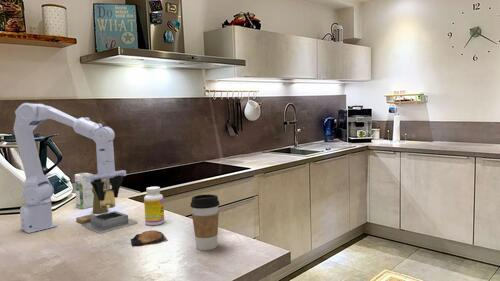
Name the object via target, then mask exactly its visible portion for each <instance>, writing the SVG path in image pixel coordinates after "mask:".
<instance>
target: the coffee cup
mask: <svg viewBox="0 0 500 281" xmlns="http://www.w3.org/2000/svg"><path fill="white" fill-rule="evenodd" d="M219 206H220V201H219V197H218V195H216V194H210V193H209V194H196V195H194V196H192V197H191V201H190V206H189V207H191V212H192V213H191V215H192V224H193V231H194V237H195V245H196V249H198V250H199V251H212V250H214V249H217V247H218V234H219V232H218V231H219V216H220V213H219V212H220V211H219Z"/></svg>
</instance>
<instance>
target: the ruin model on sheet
mask: <svg viewBox="0 0 500 281" xmlns="http://www.w3.org/2000/svg"><path fill="white" fill-rule="evenodd" d="M101 181H102V182H104V186H105V188H106V189H111V181H110V178H108V179H103V180H101Z"/></svg>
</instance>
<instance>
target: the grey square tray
mask: <svg viewBox="0 0 500 281" xmlns="http://www.w3.org/2000/svg"><path fill="white" fill-rule="evenodd" d="M95 215H96V216H92V217H90V218H91V222H88V223H84V224H81V226H82V227H84V228H86V229H88V230H91V231H93V232H95V233H97V234H102V233H106V232H110V231H114V230H117V229H121V228H122V229H123V228H124V227H125V228H126V227H128V226H132V225H137V224H138V223H139V222H138V221H137V220H134V219H130V218H129V214H126V213H123V212H119V211H116V210H115V211H111V212H110V211H108V212H106V213H102V214H95Z"/></svg>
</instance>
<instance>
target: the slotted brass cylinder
mask: <svg viewBox="0 0 500 281" xmlns="http://www.w3.org/2000/svg"><path fill="white" fill-rule="evenodd" d="M103 196H104V199H103V201H100V207H101V208H102V209H107V208H108V209H112V208H115V207H116V198H115V191H114V189H112V187H110V189H104V190H103Z"/></svg>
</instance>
